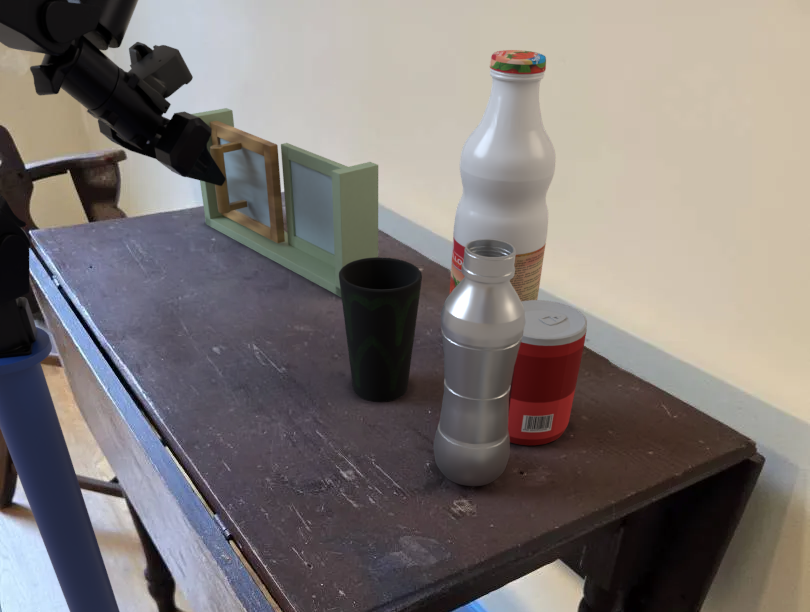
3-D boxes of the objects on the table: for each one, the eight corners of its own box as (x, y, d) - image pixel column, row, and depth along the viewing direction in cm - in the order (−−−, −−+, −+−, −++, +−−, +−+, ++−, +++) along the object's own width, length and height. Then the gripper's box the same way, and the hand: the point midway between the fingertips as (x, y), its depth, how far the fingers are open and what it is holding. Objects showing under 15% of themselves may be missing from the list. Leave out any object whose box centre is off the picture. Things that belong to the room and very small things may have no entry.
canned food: (583, 424, 75) (605, 318, 68) (533, 458, 71) (552, 348, 64) (519, 394, 79) (534, 291, 72) (469, 425, 75) (479, 317, 67)
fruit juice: (525, 371, 83) (569, 69, 64) (438, 360, 84) (457, 60, 66) (534, 332, 90) (575, 48, 71) (453, 322, 91) (474, 41, 72)
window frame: (205, 224, 112) (189, 113, 103) (238, 216, 115) (226, 107, 106) (343, 299, 95) (340, 174, 85) (378, 287, 98) (378, 164, 88)
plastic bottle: (477, 506, 65) (503, 275, 52) (416, 473, 69) (425, 248, 55) (521, 472, 69) (555, 248, 56) (460, 442, 72) (479, 224, 59)
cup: (353, 365, 83) (350, 253, 75) (423, 373, 82) (428, 261, 74) (333, 402, 77) (329, 285, 69) (409, 412, 76) (412, 294, 68)
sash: (195, 221, 109) (181, 126, 101) (228, 212, 112) (217, 120, 104) (251, 251, 101) (240, 152, 93) (285, 241, 104) (277, 144, 96)
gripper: (181, 33, 80) (279, 133, 93) (99, 9, 90) (197, 101, 103) (127, 130, 81) (231, 214, 94) (52, 95, 91) (155, 176, 104)
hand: (203, 173), depth 99 cm, fingers open, 9 cm apart
